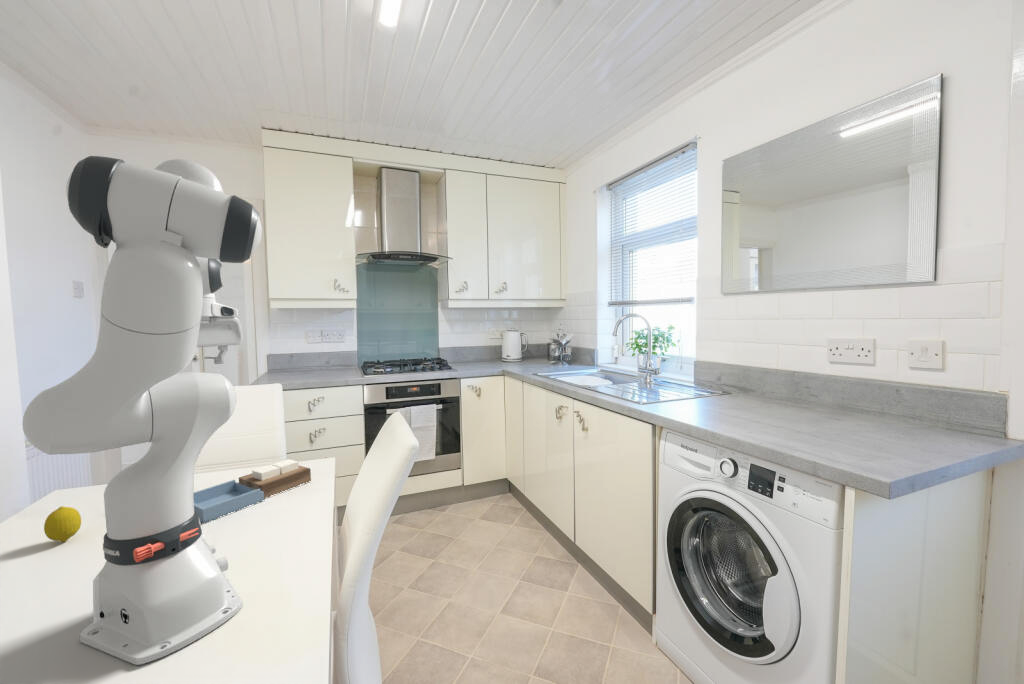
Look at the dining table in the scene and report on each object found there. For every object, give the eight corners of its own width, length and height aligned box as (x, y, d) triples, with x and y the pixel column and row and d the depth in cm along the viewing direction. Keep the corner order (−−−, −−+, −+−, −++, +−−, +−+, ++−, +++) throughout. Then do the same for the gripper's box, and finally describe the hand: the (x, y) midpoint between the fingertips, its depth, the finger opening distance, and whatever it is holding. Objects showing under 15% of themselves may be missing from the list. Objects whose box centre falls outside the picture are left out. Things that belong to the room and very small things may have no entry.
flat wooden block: (311, 481, 122) (310, 468, 121) (262, 500, 110) (261, 485, 109) (287, 474, 128) (287, 462, 127) (239, 491, 116) (238, 477, 115)
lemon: (43, 551, 87) (40, 515, 86) (48, 541, 91) (45, 506, 90) (80, 541, 90) (77, 506, 90) (84, 532, 94) (81, 498, 94)
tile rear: (298, 468, 122) (298, 461, 122) (281, 473, 118) (281, 467, 117) (288, 465, 124) (288, 459, 124) (272, 471, 120) (271, 464, 120)
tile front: (280, 474, 117) (279, 467, 117) (262, 480, 113) (261, 473, 113) (270, 471, 120) (270, 464, 120) (252, 477, 115) (252, 470, 115)
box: (264, 500, 109) (263, 488, 109) (203, 523, 97) (202, 509, 97) (237, 490, 116) (236, 478, 116) (178, 511, 104) (177, 497, 104)
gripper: (145, 309, 89) (149, 371, 90) (244, 309, 107) (247, 362, 108) (133, 309, 92) (138, 370, 93) (232, 310, 110) (234, 361, 111)
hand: (197, 365), depth 101 cm, fingers open, 8 cm apart
